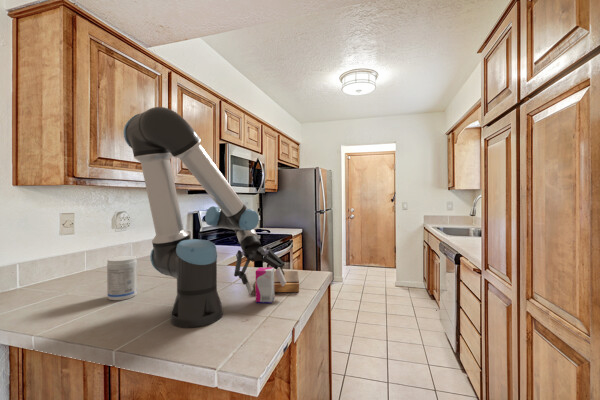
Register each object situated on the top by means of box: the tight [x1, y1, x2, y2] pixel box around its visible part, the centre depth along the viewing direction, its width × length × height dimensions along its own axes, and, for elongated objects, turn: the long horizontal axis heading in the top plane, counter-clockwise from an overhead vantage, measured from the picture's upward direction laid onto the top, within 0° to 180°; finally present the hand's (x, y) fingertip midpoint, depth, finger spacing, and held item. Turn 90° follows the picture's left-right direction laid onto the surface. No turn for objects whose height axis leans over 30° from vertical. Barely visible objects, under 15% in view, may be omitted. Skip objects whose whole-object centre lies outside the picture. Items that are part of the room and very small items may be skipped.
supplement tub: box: [106, 255, 138, 301], centre depth 106 cm, size 10×10×15 cm
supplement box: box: [255, 266, 275, 305], centre depth 102 cm, size 6×6×12 cm
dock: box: [254, 270, 300, 294], centre depth 118 cm, size 17×18×4 cm
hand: (268, 287), depth 101 cm, fingers open, 13 cm apart
